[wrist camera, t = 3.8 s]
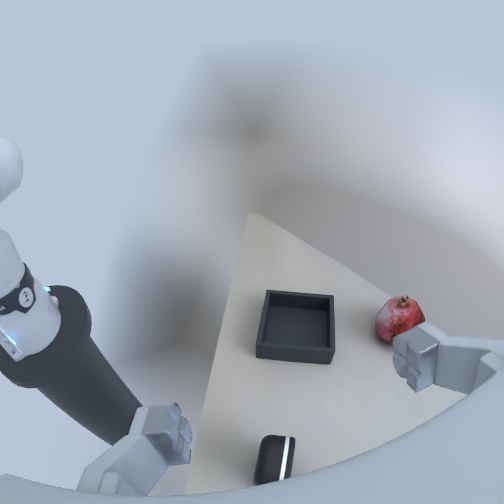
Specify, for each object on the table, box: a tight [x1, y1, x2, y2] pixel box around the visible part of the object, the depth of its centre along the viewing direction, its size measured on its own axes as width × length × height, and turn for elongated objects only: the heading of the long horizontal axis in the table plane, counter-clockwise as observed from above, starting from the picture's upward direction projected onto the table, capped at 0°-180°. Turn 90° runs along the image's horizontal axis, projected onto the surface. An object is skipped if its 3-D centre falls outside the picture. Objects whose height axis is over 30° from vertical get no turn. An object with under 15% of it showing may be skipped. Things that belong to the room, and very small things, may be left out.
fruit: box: [376, 296, 425, 345], centre depth 46 cm, size 9×10×10 cm
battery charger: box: [254, 435, 295, 486], centre depth 27 cm, size 7×4×11 cm, turn 170°
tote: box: [256, 290, 335, 364], centre depth 50 cm, size 13×13×4 cm
